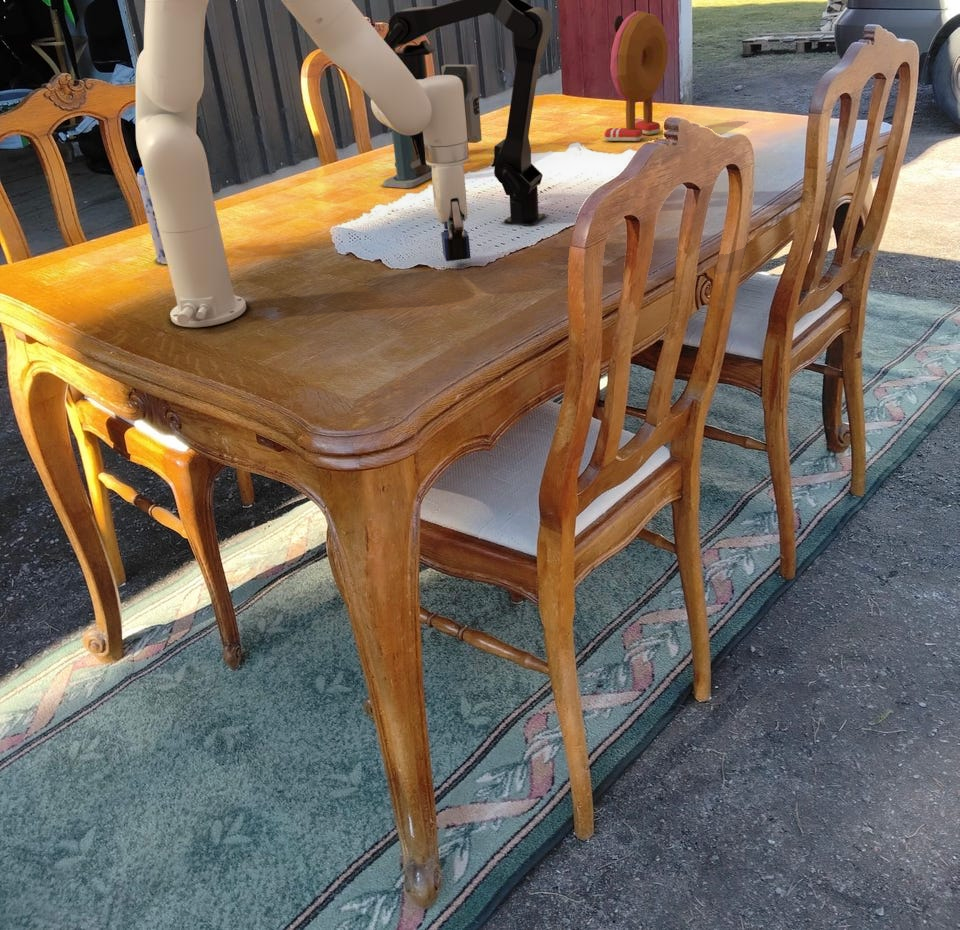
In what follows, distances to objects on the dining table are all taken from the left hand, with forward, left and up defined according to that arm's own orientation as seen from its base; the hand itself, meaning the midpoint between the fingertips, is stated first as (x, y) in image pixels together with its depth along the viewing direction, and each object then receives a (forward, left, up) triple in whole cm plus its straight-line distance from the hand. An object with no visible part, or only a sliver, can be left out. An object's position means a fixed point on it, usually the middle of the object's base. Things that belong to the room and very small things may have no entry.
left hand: (456, 254), depth 176 cm
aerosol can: (+15, +57, -2) cm, 59 cm away
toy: (+93, -43, -2) cm, 102 cm away
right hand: (+32, +8, +10) cm, 34 cm away
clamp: (+73, +9, -2) cm, 73 cm away
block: (0, 0, 0) cm, 0 cm away
